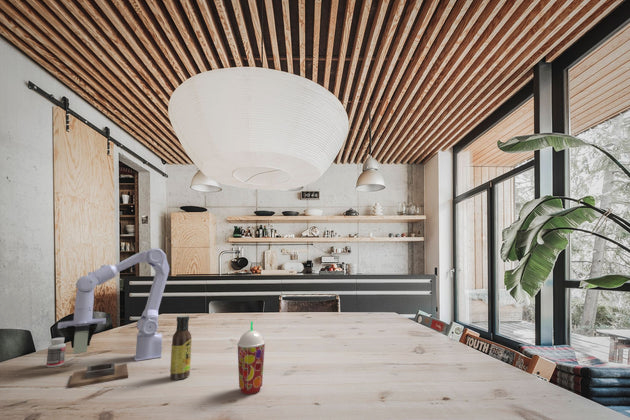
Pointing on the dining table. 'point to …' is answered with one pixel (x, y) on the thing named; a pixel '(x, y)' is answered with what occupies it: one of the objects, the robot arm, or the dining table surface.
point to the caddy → (99, 374)
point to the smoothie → (251, 361)
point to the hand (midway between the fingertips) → (80, 346)
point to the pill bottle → (56, 353)
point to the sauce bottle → (181, 349)
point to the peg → (80, 342)
